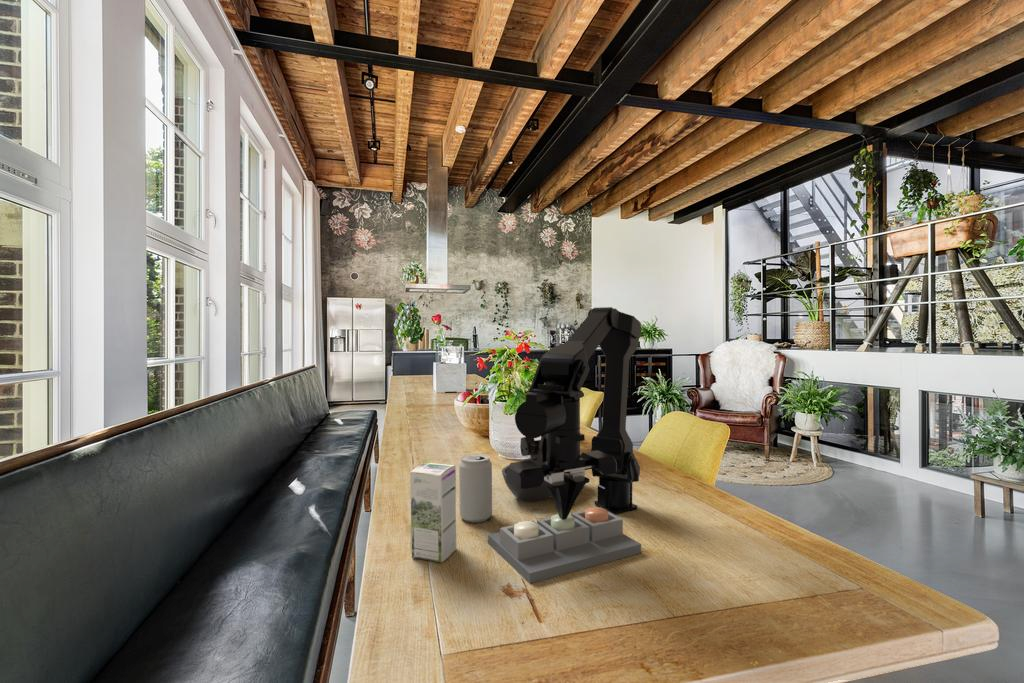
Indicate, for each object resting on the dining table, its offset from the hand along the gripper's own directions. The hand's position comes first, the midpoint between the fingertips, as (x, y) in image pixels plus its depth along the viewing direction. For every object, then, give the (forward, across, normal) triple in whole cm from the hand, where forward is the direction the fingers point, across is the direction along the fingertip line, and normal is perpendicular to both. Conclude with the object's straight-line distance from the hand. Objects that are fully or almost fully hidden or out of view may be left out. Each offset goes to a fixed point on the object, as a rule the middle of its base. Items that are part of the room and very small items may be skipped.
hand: (563, 518), depth 83 cm
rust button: (+3, -7, 0) cm, 8 cm away
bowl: (+5, -11, -26) cm, 29 cm away
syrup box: (+5, +20, -8) cm, 22 cm away
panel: (+5, 0, 0) cm, 5 cm away
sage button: (+3, 0, 0) cm, 3 cm away
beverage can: (+5, +8, -19) cm, 21 cm away
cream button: (+3, +7, 0) cm, 8 cm away
